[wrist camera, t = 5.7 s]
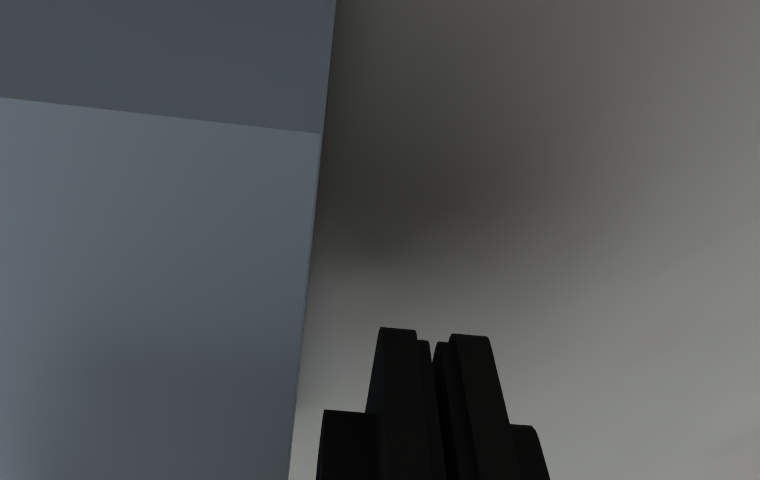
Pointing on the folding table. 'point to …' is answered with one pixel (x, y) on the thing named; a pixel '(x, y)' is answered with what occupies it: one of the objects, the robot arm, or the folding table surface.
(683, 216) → the folding table surface
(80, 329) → the blue end cap
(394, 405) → the robot arm
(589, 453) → the folding table surface
